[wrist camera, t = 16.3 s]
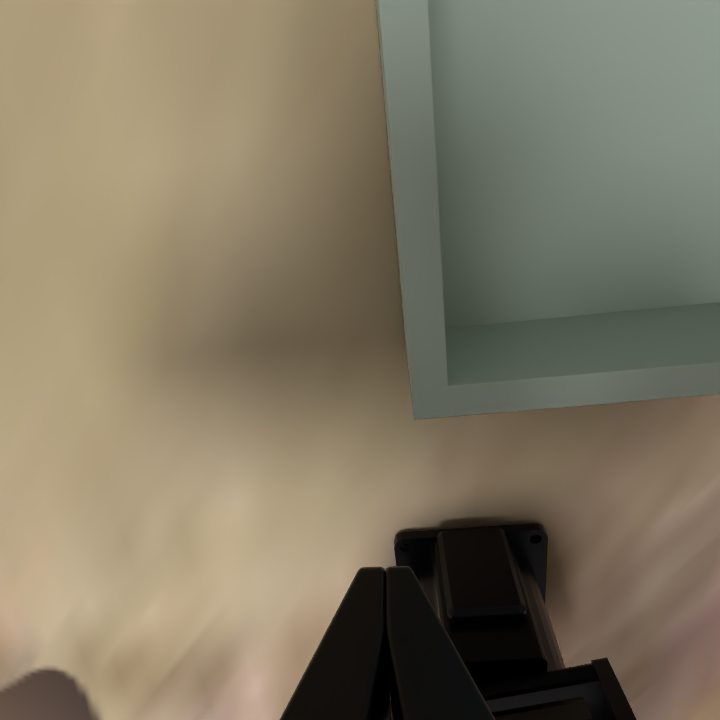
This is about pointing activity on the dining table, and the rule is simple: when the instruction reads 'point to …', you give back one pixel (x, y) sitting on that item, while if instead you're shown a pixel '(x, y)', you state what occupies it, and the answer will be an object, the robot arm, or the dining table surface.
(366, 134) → the dining table surface
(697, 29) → the grey-green open box
